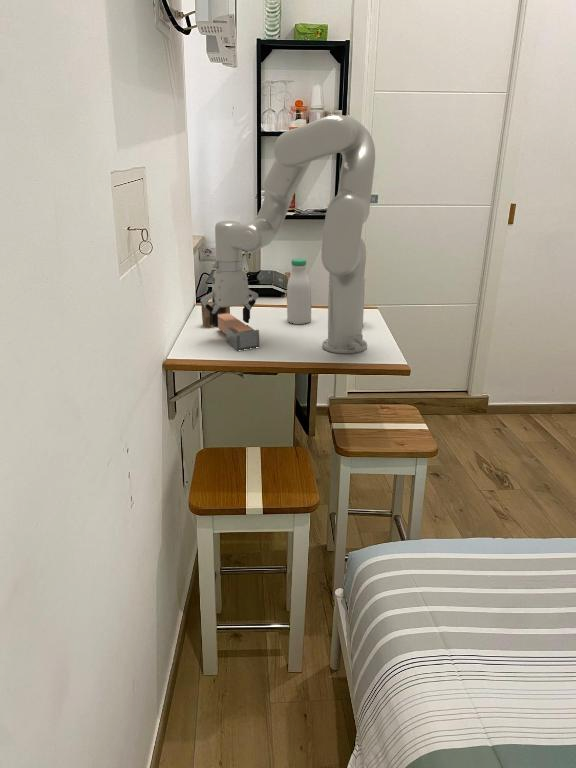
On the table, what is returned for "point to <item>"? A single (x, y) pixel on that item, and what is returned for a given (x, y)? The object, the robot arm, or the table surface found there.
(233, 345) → the channel
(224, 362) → the table surface
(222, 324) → the bar
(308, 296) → the milk bottle
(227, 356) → the table surface
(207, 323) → the socket
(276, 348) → the table surface
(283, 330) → the table surface
